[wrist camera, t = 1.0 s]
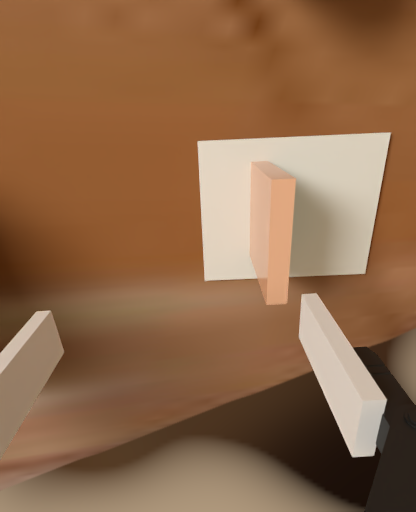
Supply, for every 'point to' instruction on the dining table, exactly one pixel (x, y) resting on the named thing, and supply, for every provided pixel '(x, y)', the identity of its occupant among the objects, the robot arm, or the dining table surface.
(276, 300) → the tile
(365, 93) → the dining table surface
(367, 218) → the mat
